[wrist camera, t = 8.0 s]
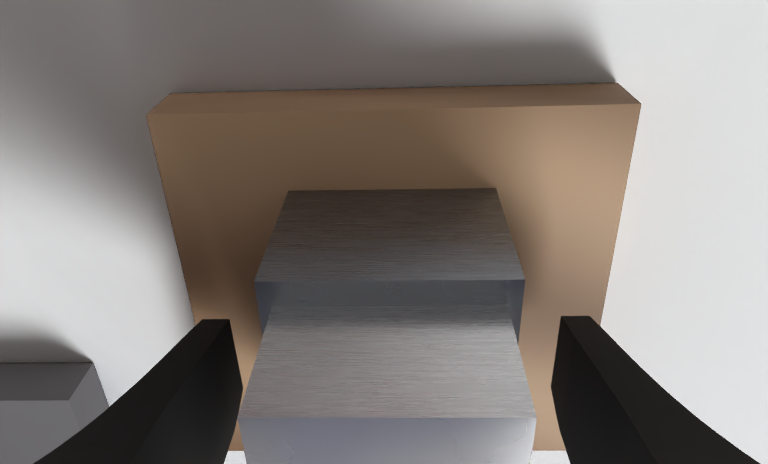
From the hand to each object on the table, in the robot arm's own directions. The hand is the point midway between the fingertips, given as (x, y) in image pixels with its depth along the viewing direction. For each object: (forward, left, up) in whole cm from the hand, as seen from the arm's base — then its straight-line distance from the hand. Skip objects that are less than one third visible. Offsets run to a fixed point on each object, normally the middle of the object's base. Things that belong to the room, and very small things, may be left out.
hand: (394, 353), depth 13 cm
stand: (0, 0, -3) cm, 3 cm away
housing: (0, 0, -2) cm, 2 cm away
